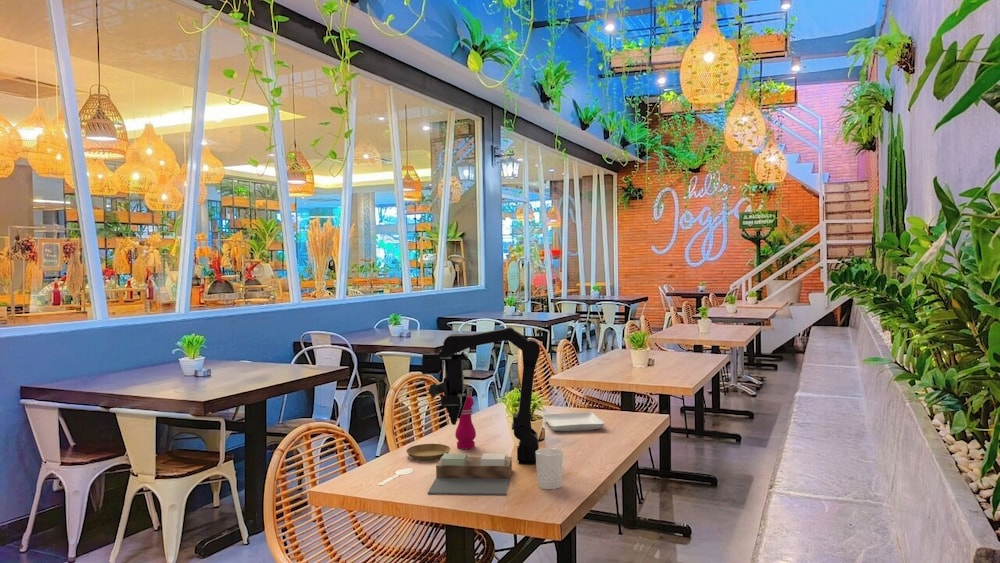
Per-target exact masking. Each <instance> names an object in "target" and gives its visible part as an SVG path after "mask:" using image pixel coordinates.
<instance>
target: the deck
mask: <svg viewBox="0 0 1000 563" xmlns="http://www.w3.org/2000/svg"><path fill="white" fill-rule="evenodd" d="M442 457H443V456H442ZM442 457H441V458H442ZM481 458H482V456H467V461H466V463H465V465H464V466H453V465H441V459H439V460H438V462H437V463H436V465H435V472H436V474H435V476H436V477H435V479H436V478H485V479H509V481H510V480H511V474H512V472H513V470H512V469H513V468H512V467H513V466H512V464H513V463H512V462H513V460H512V458H513V457H512V456H506V462H505V465H504V466H481Z"/></svg>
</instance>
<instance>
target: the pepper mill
mask: <svg viewBox="0 0 1000 563" xmlns="http://www.w3.org/2000/svg"><path fill="white" fill-rule="evenodd" d="M463 395H466V394H463ZM474 403H475V401H474V398H473V397H472V396H471V395H469V394H468V397H467V399H466V402H465V405H464V408H463V411H462V414H461V417H460V418H458V419H459V420H458V421H459V422H458V424H457V427H456V430H455V435H454V436H455V438H456V440H457V442H456V448H457V449H460V450H471V449H474V448H475V446H476V445H475V438H476V436H477V434H476V433H477V432H476V428H475V426H474V423H473V421H472V413H473V408H472V407H473V405H474Z"/></svg>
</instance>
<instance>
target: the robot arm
mask: <svg viewBox="0 0 1000 563" xmlns="http://www.w3.org/2000/svg"><path fill="white" fill-rule="evenodd" d="M505 341H509V342H510V344H513V345H514V346H515V347H516V348H518V349H519V350H521V353H522V354H521V355H522V377H521V386H520V395H519V405H518V409H517V410H518V411H517V413H512V422H511V431H513V435H514V437H515V438H516V439H517V440H519V442H518V445H517V446H516V447H517V448H516V452H517V453H516V455H517V456H516V457H517V462H518V464H519V465H521V464H522V465H536V450H538V449H540V448H539V444H540V443H539V438H538V437H539V436H538V432H536V430H534V428H533V427H532V421H531V418H532V417H531V405H532V404H531V403H532V397H533V396H532V394H533V387H534V386H533V384H534V379H535V378H534V377H535V369H536V365H537V364H538V360H539V356H540V353H541V347H540V343H539V342H538V341H537V340H536V339H534V338H527V337H526V336H524V335H523V334H521V333H520V332H518V331H516V330H515V328H513V327H512V326H507V327H504V328H500V329H493V330H488V331H482V332H477V333H470V334H469V333H452V334H450V335H448V336H446V337H445V339H444V341H443V347H442V349H440V350H439V353H428V352H427V353H425V352H424V353H422V358H421V359H422V360H421V368H420V369H421V374H422V375H423V376H424V375H425V376H426V375H441V372H444V369H445V374H444V376H445V377H444V378H443V380H442V381H441V382H438V383H436V382H434V383H432V384H430V385H429V387H428V388H427V389H428V395H430V397H431V398H434V397H436V396H438V395H441V394H442V393H443V395H442V397H441V398H440V406H442V407H443V408H445V409H446V410H447V412H448V415H449V418H450V422H451V425H453V426H456V425H457V422H458V419H460V417H461V414H462V411H463V408H464V405H465V402H466V399H467V397H468V395H469V393H470V392H469V387H468V386H467V385H464V379H465V375H464V369H463V368H464V366H463V364H464V363H463V362H464V361H466V360H468V359H469V356H468V354H466V353H465V350H467V349H469V348H472V347H477V346H482V345H488V344H494V343H498V342H505ZM459 352H461V353H459ZM450 354H451V356H448V355H450ZM463 394H466V395H463Z"/></svg>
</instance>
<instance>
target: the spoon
mask: <svg viewBox="0 0 1000 563" xmlns="http://www.w3.org/2000/svg"><path fill="white" fill-rule="evenodd" d="M414 471H415V469H414V468H412V467H405V468H400V469H397V470H395V471H394V475H392V476H390V477H388V478H385V479H384V480H381V481H380V482H378V483H377V484H376V486H378V484H379V485H382V486H385V485H386V484H388V483H389V482H391V481H393V480H394V478H395V479H396V478H398V477H400V476H405V475H410V474H412V473H413V472H414ZM393 477H394V478H393ZM382 481H383V482H382Z"/></svg>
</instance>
